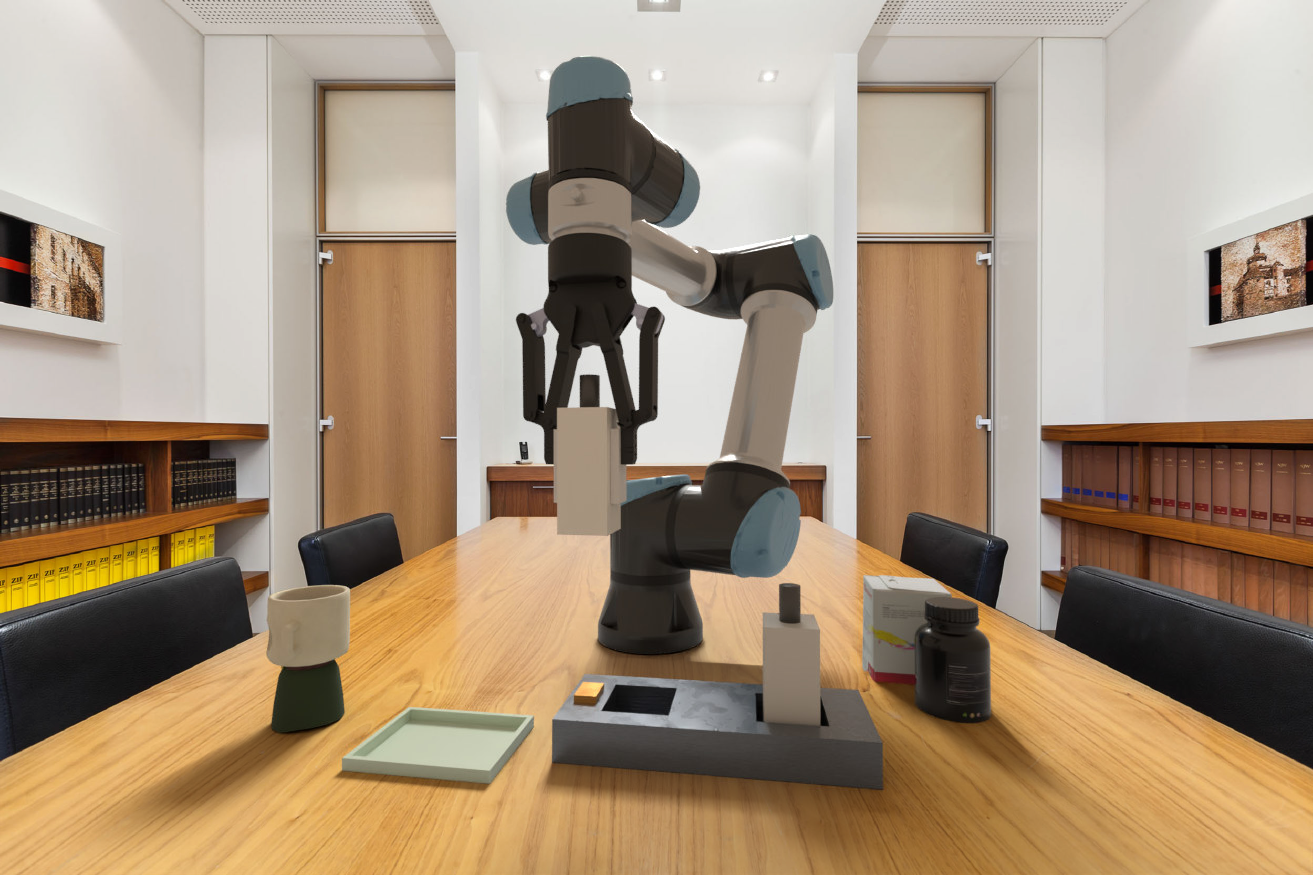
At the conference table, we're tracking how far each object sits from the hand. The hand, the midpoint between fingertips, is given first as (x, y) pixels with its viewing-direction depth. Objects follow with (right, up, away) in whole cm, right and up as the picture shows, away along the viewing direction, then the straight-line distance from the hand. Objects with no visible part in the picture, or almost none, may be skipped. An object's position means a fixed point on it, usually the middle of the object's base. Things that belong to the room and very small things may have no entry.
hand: (590, 501), depth 54 cm
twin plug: (+17, -21, -3) cm, 27 cm away
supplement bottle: (+35, -23, +6) cm, 42 cm away
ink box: (+35, -23, +16) cm, 45 cm away
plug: (0, -3, 0) cm, 3 cm away
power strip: (+11, -22, -2) cm, 25 cm away
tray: (-13, -22, 0) cm, 26 cm away
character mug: (-28, -23, +5) cm, 37 cm away
